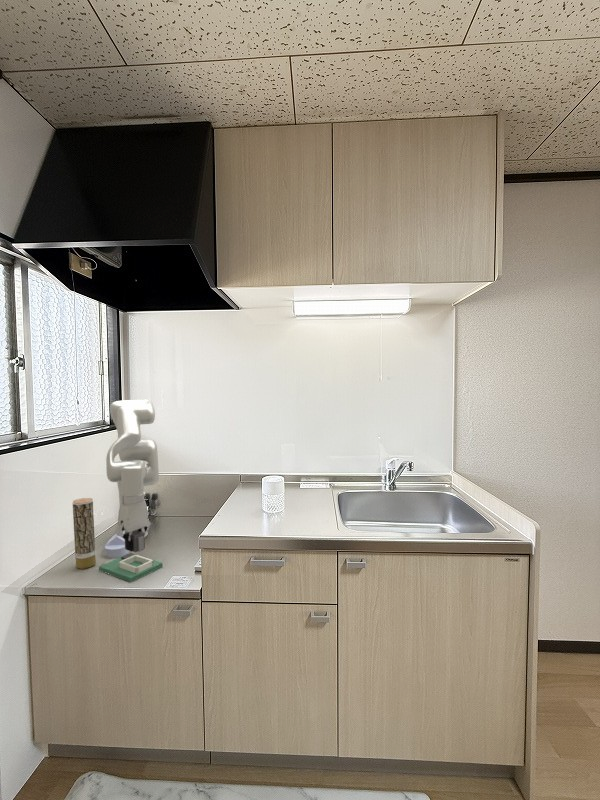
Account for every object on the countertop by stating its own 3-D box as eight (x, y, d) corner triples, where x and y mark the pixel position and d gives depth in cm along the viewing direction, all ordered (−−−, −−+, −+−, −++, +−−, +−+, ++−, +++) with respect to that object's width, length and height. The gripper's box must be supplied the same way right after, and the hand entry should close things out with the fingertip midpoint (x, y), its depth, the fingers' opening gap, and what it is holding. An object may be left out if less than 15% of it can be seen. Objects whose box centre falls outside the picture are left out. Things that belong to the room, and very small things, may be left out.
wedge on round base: (111, 545, 190) (102, 558, 177) (110, 529, 190) (101, 541, 177) (133, 544, 191) (126, 556, 179) (133, 528, 191) (125, 540, 178)
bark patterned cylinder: (85, 570, 167) (82, 504, 165) (71, 567, 169) (68, 502, 167) (99, 563, 173) (96, 498, 171) (86, 560, 176) (82, 497, 174)
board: (99, 570, 167) (98, 561, 167) (131, 556, 179) (130, 547, 179) (131, 582, 157) (130, 572, 157) (162, 566, 169) (162, 557, 169)
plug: (125, 549, 166) (124, 533, 165) (134, 545, 169) (133, 529, 169) (137, 552, 162) (136, 536, 162) (146, 548, 165) (145, 532, 165)
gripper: (145, 492, 174) (146, 538, 175) (106, 503, 159) (108, 554, 161) (158, 494, 170) (160, 542, 171) (119, 506, 155) (122, 558, 157)
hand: (135, 547), depth 166 cm, fingers closed on plug, 4 cm apart
